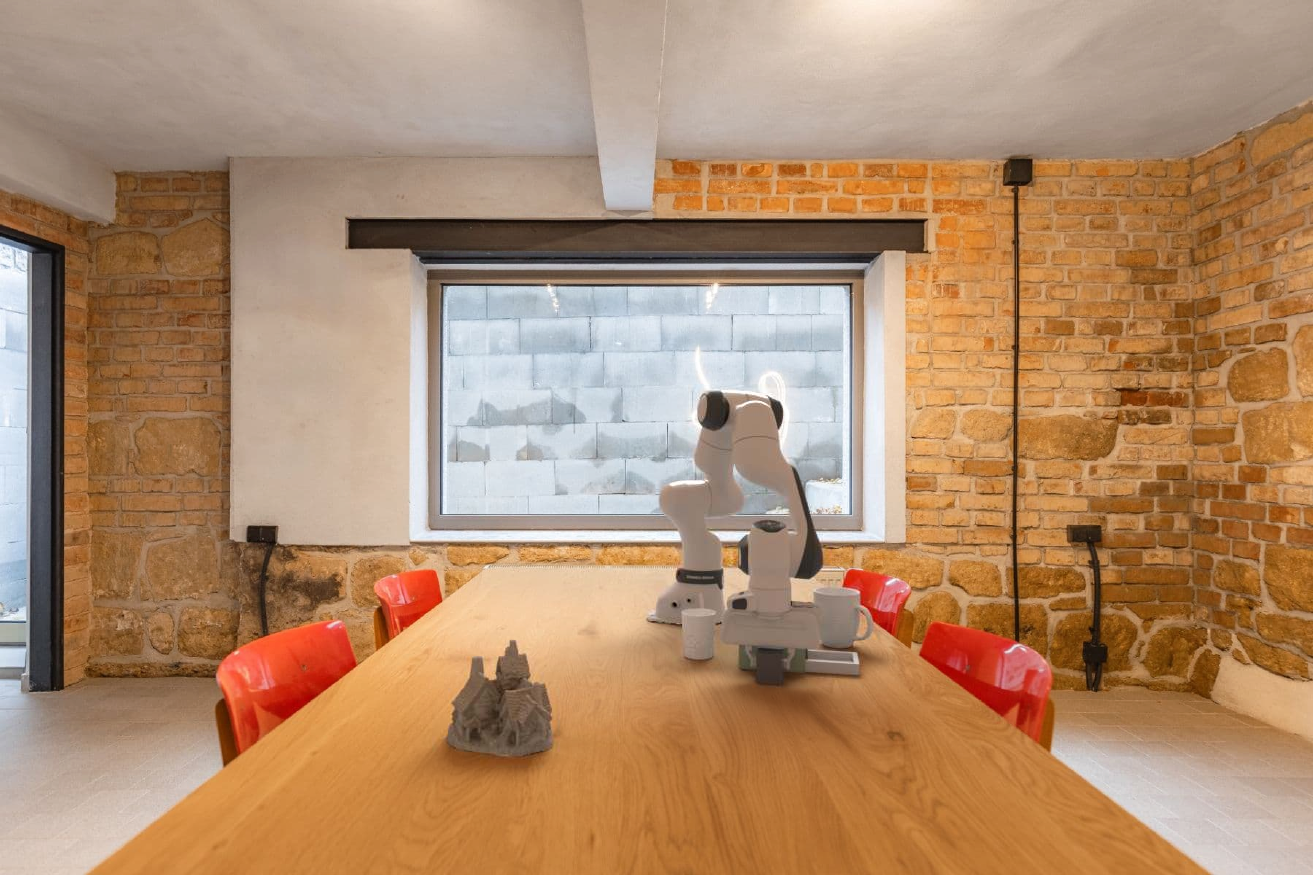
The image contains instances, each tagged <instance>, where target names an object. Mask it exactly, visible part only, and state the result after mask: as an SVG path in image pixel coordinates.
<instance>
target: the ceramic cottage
mask: <svg viewBox="0 0 1313 875" xmlns="http://www.w3.org/2000/svg"><path fill="white" fill-rule="evenodd" d="M529 665H530V664H529V661H528V658H527V653H521V654H519V647H518V645H517V640H515V639H509V646H506V647H505V650H504V655H503V656H498V658H497V662H496V667H495V668H496V670H495V672H494V674H495V676H496V677H495V678H494V679H489V678H488V677H487V676H485V668H484V658H483V657H482V656H480V655H476V656H473V657H472V658H471V666H470V670H469V671H470V672H469V678H468V679H467V682H466V683H465V685H464V686H463V688H461V690H459V693H458V694H457V696H456V697H455V699H454V700H452V701H451V703H450V704H451V705H452V706H453V707H454V708H453V709H454V710H452V712H451V716H452V717H451V720H452V722H451V723H450V724H449V725H448V729H447V730H448V731H447V734H446V742H447V743H448V742H449V743H448V744H449V745H450V746H451V747H452V748H454V747H455V748H454V749H456V750H457V751H465V750H466V752H471V751H472V753H473V752H474V753H477V752H478V754H486V753H487V754H488V755H492V754H494V755H493V756H498V755H506V756H507V755H508V756H521V755H522V756H523V755H526V756H528V755H531V754H536V753H537V752H539V753H541V752H540V751H542V752H543V751H544V750H547V751H548V750H550V749H551V747H553V744H554V741H553V734H552V733H553V732H552V725H551V721H553V717H552V715H551V713H553V709H552V706H551V703H550V698H549V695H548V688H547V686H546V683H545V682H543V683H540V682H534V683H533V682H531V681H530V680H529V679H530V678H531V672H530V666H529ZM544 752H545V751H544ZM489 753H490V754H489ZM527 754H528V755H527ZM522 756H521V757H522Z"/></svg>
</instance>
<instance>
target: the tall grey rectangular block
mask: <svg viewBox="0 0 1313 875" xmlns="http://www.w3.org/2000/svg"><path fill="white" fill-rule="evenodd" d="M782 660H783V648H781V647H765V646H758V649H757V652H756V670H755V672H756V674H755V676H756V678H755V680H756V682H755V684H758V685H759V684H760V685H771V686H782V685H783V679H784V672H783V669H782Z"/></svg>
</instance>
